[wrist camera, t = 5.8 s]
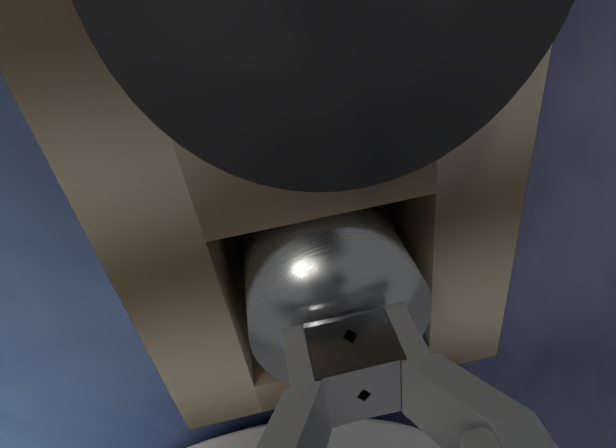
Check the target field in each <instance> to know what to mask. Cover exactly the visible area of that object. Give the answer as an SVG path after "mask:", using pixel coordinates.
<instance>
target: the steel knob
mask: <svg viewBox="0 0 616 448" xmlns="http://www.w3.org/2000/svg"><path fill="white" fill-rule="evenodd" d="M240 239H241V251H242V263H243V275H244V287H245V299H246V311H247V323H248V335H249V343H250V347H251V350H252V353H253V355H254V357H255V358H256V360H257V361H258V363H259V364H260V365H261V366H262V367H263V368H264V369H265V370H266V371H268V372H269V373H270V374H272V375H273V376H275V377H277V378H279V379H281V380H283V381H286V382H289V383H290V381H289V375H288V369H287V363H286V357H285V351H284V345H283V339H282V328H287V327H292V326H297V325H301V324H302V326H303V324H305V323H310V322H315V321H320V320H325V319H329V318H334V317H339V316H342V315H346V314H350V313H354V312H358V311H362V310H367V309H371V308H375V307H379V306H381V307H382V306H384V305H388V304H393V303H397V302H401V301H402V302H404V303H405V304H406V306H407V308H408V310H409V312H410V314H411V315H412V317H413V319H414V321H415V323H416V325H417V327H418V329H419V331H420V333H421V335H423V333H424V332H425V330H426V328H427V325H428V323H429V320H430V316H431V311H432V297H431V293H430V289H429V287H428V285H427V283H426V281H425V279H424V278H423V276H422V274H421V273H420V271H419V269H418V268H417V266H416V265H415V263H414V261H413V260H412V258H411V256H410V255H409V253H408V251H407V250H406V248H405V246H404V245H403V243H402V241H401V240H400V238H399V237H398V235H397V233H396V232H395V230H394V228H393V227H392V225H391V223H390V222H389V220H388V218H387V217H386V215H385V214H384V212H383V210H382V209H381V207H380V205H379V206H374V207H369V208H365V209H360V210H355V211H351V212H346V213H341V214H336V215H332V216H327V217H322V218H317V219H313V220H308V221H303V222H299V223H294V224H289V225H284V226H280V227H275V228H270V229H266V230H261V231H256V232H251V233H247V234H242V235H240ZM303 329H304V328H303Z"/></svg>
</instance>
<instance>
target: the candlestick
mask: <svg viewBox="0 0 616 448" xmlns="http://www.w3.org/2000/svg"><path fill="white" fill-rule="evenodd" d="M266 426H267V424H263V425H257V426H254V427H250V428H247V429H243V430H240V431H236V432H232V433H229V434H225V435H222V436H218V437H215V438H212V439H209V440H206V441H203V442H200V443H197V444H194V445H192V446H189V447H187V448H256V447H257V445H258V443H259V441H260V439H261V437H262V435H263V433H264V431H265V428H266ZM331 429H332V432H331V435H330V439H329V442H328V445H327V448H441V447H440V446H439V445H438V444H436V443H435V442H434V441H433V440H432V439H431V438H430V437H429V436H428V435H426V434H425V433H424V432H423V431H422V430H421V429H420V428H417V427H413V426H410V425H406V424H402V423H397V422H392V421H386V420H379V419H369V418H367V419H363V420H359V421H356V422H352V423H348V424H345V425H341V426H338V427H334V428H331Z"/></svg>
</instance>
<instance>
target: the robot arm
mask: <svg viewBox="0 0 616 448" xmlns="http://www.w3.org/2000/svg"><path fill="white" fill-rule="evenodd" d="M303 328H304V329H303ZM282 339H283V345H284V351H285V357H286V363H287V369H288V375H289V381H290V388H286V389H284V391H283V393H282V395H281V397H280V399H279V401H278V403H277V405H276V407H275V410H274V412H273V414H272V416H271V418H270V420H269V422H268V424H267V426H266V428H265V431H264V433H263V435H262V437H261V439H260V441H259V443H258V445H257V447H256V448H327V445H328V442H329V439H330V435H331V432H332V429H331V428H334V427H338V426H341V425H345V424H348V423H352V422H356V421H359V420H363V419H367V418H371V417H376V416H380V415H385V414H390V413H394V412H399V411H402V413H403V414H404V415H405V416H406V417H407V418H409V419H410V420H411V421H412V422H413V423H414V424H415V425H416V426H417V427H419V428H420V429H421V430H422V431H423V432H424V433H425V434H426V435H428V436H429V437H430V438H431V439H432V440H433V441H434V442H435V443H436V444H438V445H439V446H440V447H441V448H558V446H557V445H556V443H555V442H554V440H553V439H552V437H551V436H550V434H549V433H548V431H547V430H546V429H545V427H544V426H543V424H542V423H541V421H540V420H539V418H538V417H537V415H536V414H535V412H533V411H532V410H530V409H528V408H527V407H525V406H524V405H522V404H520V403H519V402H517V401H515V400H514V399H512V398H511V397H509V396H507V395H506V394H504V393H503V392H501V391H499V390H498V389H496V388H494V387H493V386H491V385H490V384H488V383H486V382H485V381H483V380H481V379H480V378H478V377H477V376H475V375H473V374H472V373H470V372H469V371H467V370H465V369H464V368H462V367H460V366H459V365H457V364H456V363H454V362H452V361H451V360H449V359H447V358H446V357H444V356H443V355H441V354H439V353H438V352H437V353H432V354H431V352H430V350H429V348H428V346H427V344H426V342H425V340H424V338H423V337H422V335H421V333H420V331H419V329H418V327H417V325H416V323H415V321H414V319H413V317H412V315H411V314H410V312H409V310H408V308H407V306H406V304H405V303H404V302H402V301H401V302H397V303H393V304H388V305H384V306H382V307H381V306H379V307H375V308H371V309H367V310H362V311H358V312H354V313H350V314H346V315H342V316H339V317H334V318H329V319H325V320H320V321H315V322H310V323H305V324H303V326H302V324H301V325H297V326H292V327H287V328H282Z"/></svg>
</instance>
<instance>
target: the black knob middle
mask: <svg viewBox="0 0 616 448" xmlns="http://www.w3.org/2000/svg"><path fill="white" fill-rule="evenodd" d="M71 1H72V3H73V5H74V7H75V9H76V11H77V13H78V16H79V18H80V20H81V22H82V24H83V26H84V29H85V31H86V33H87V35H88V37H89V39H90V41H91V42H92V44H93V46H94V47H95V49H96V50H97V52H98V54H99V55H100V57H101V59H102V60H103V62H104V64H105V65H106V67H107V69H108V70H109V72H110V73H111V75H112V76H113V77H114V78H115V80H116V81H117V82H118V84H119V85H120V86H121V87H122V89H123V90H124V91H125V93H126V94H127V95H128V97H129V98H130V99H131V100H132V102H133V103H134V104H135V105H136V106H137V107H138V108H139V109H140V110H141V111H142V112H143V113H144V114H145V115H146V116H147V117H148V118H149V119H150V120H151V121H152V122H153V123H154V124H155V125H156V126H157V127H158V128H159V129H160V130H162V131H163V132H164V133H165V134H167V135H168V136H169V137H170V138H171V139H173V140H174V141H175V142H176V143H178V144H179V145H180V146H181V147H183V148H184V149H186V150H188V151H189V152H191V153H192V154H194V155H195V156H197V157H199V158H200V159H202V160H203V161H205V162H206V163H208V164H210V165H212V166H214V167H217V168H219V169H221V170H223V171H225V172H227V173H229V174H231V175H233V176H236V177H239V178H242V179H245V180H248V181H251V182H254V183H257V184H260V185H264V186H269V187H274V188H278V189H283V190H290V191H302V192H340V191H347V190H354V189H360V188H366V187H370V186H374V185H377V184H381V183H385V182H389V181H392V180H394V179H397V178H399V177H402V176H405V175H407V174H410V173H412V172H415V171H417V170H419V169H421V168H423V167H425V166H427V165H428V164H430V163H432V162H434V161H436V160H438V159H440V158H441V157H443V156H445V155H446V154H448V153H449V152H451V151H452V150H454V149H455V148H457V147H458V146H460V145H461V144H463V143H464V142H465V141H467V140H468V139H469V138H470V137H472V136H473V135H474V134H475V133H476V132H478V131H479V130H480V129H481V128H483V127H484V126H485V125H486V124H487V123H488V122H489V121H490V120H491V119H492V118H493V117H494V116H495V115H496V114H497V113H498V112H499V111H501V110H502V109H503V108H504V107H505V106H506V105H507V104H508V102H509V101H510V100H511V99H512V98H513V97H514V95H515V94H516V93H517V92H518V91H519V89H520V88H521V87H522V86H523V85H524V83H525V82H526V81H527V80H528V79H529V77H530V76H531V74H532V73H533V72H534V70H535V69H536V67H537V66H538V64H539V63H540V61H541V60H542V59H543V57H544V56H545V54H546V53H547V51H548V50H549V48H550V46H551V44H552V43H553V41H554V39H555V37H556V36H557V34H558V32H559V30H560V29H561V27H562V25H563V23H564V22H565V20H566V18H567V15H568V13H569V11H570V9H571V7H572V4H573V2H574V0H71Z"/></svg>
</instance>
